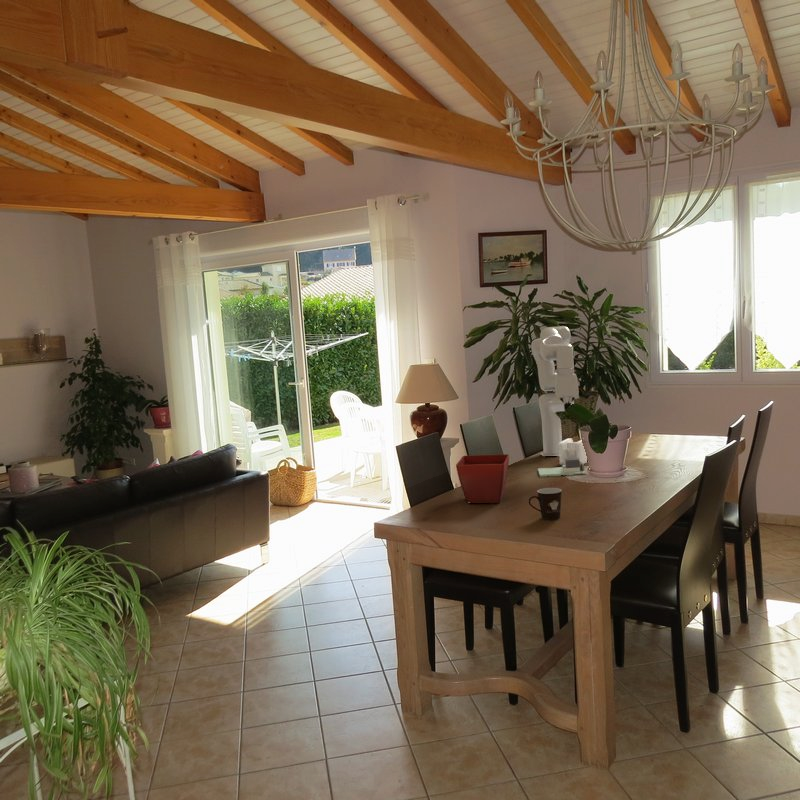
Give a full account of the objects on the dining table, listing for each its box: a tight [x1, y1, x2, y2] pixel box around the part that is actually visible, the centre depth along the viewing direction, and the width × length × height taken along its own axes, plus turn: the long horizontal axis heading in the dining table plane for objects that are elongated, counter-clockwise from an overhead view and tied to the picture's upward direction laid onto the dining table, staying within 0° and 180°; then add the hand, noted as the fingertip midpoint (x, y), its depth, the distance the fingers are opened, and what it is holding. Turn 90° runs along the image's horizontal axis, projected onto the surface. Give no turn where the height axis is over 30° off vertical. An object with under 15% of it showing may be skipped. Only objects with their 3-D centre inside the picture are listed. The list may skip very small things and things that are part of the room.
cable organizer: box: [558, 437, 588, 466], centre depth 365 cm, size 15×11×12 cm
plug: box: [565, 458, 580, 468], centre depth 348 cm, size 4×6×5 cm, turn 83°
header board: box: [537, 460, 586, 478], centre depth 349 cm, size 14×20×5 cm
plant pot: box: [455, 453, 510, 504], centre depth 308 cm, size 19×19×17 cm
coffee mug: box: [528, 487, 563, 521], centre depth 275 cm, size 12×9×10 cm
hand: (568, 411), depth 350 cm, fingers closed
